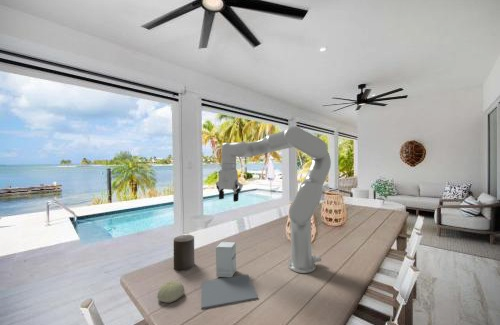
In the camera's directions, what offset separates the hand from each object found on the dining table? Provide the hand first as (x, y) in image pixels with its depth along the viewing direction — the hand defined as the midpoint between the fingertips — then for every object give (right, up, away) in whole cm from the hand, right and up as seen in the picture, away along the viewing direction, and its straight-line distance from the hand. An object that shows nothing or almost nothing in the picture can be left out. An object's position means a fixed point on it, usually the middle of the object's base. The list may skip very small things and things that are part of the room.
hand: (228, 200), depth 106 cm
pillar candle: (-21, -31, -6) cm, 38 cm away
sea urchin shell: (-18, -31, -29) cm, 46 cm away
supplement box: (+1, -30, -14) cm, 34 cm away
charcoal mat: (+2, -30, -26) cm, 40 cm away
